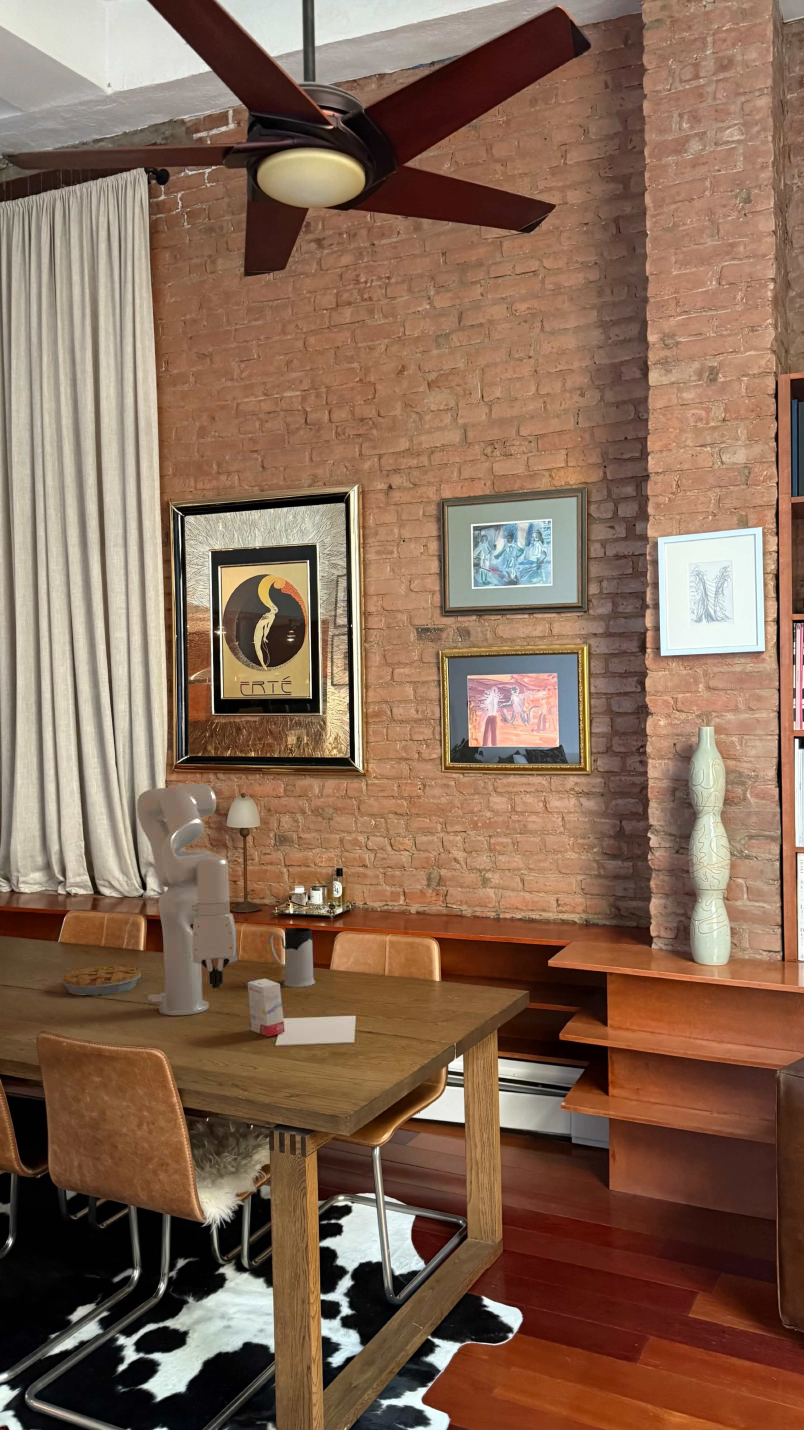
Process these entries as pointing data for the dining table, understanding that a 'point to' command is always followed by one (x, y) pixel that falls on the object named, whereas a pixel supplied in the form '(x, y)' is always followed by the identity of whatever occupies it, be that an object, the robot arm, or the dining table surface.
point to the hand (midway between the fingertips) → (216, 986)
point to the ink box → (266, 1007)
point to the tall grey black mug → (297, 957)
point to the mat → (317, 1031)
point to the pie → (102, 980)
